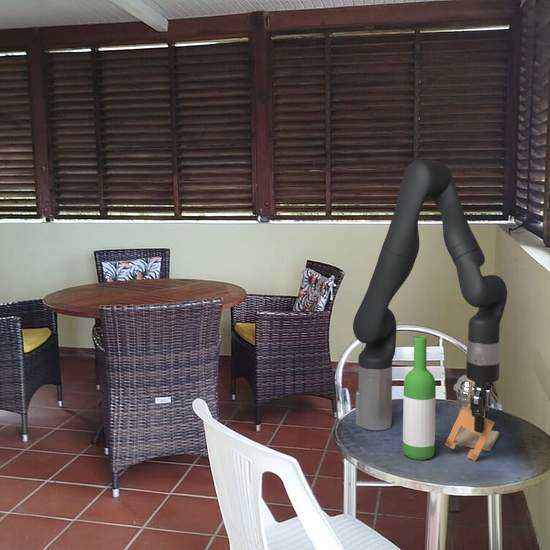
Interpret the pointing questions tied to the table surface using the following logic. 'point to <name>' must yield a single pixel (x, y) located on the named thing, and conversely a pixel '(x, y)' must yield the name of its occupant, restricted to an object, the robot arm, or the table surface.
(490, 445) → the hook stand
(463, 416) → the c link
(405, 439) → the wine bottle
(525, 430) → the table surface
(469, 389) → the cup with straw
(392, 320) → the robot arm
